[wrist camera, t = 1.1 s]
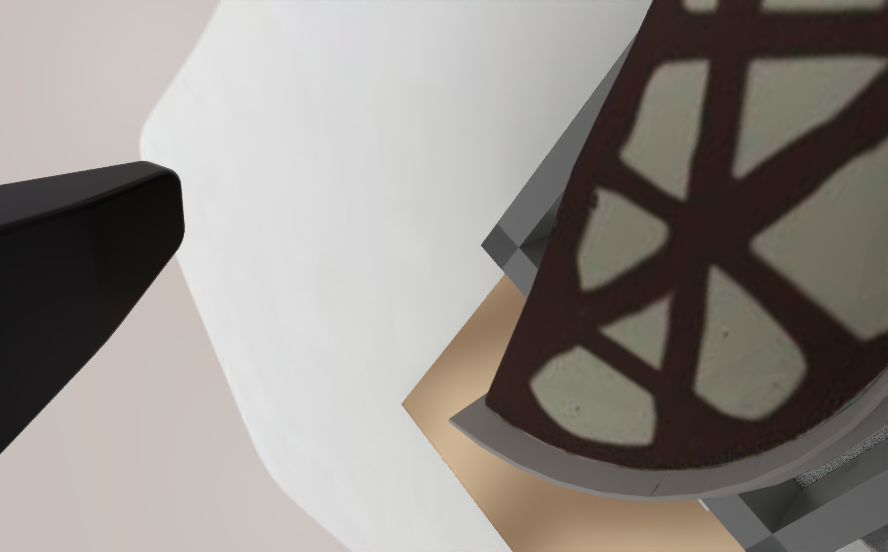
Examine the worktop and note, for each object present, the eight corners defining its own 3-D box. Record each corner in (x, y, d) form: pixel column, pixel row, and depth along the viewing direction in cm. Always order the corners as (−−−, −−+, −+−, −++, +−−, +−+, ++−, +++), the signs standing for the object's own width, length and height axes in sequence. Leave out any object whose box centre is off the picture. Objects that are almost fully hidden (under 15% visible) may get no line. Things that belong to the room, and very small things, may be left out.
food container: (861, 434, 19) (708, 682, 12) (661, 302, 22) (439, 440, 15) (1270, -65, 13) (1460, -166, 6) (912, -162, 16) (734, -312, 8)
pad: (871, 655, 21) (867, 664, 20) (662, 735, 26) (657, 743, 26) (521, 259, 25) (514, 262, 25) (408, 400, 31) (401, 404, 30)
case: (1733, 24, 10) (1861, 26, 9) (792, 540, 21) (761, 588, 19) (1007, -388, 14) (990, -447, 12) (521, 236, 25) (474, 253, 23)
